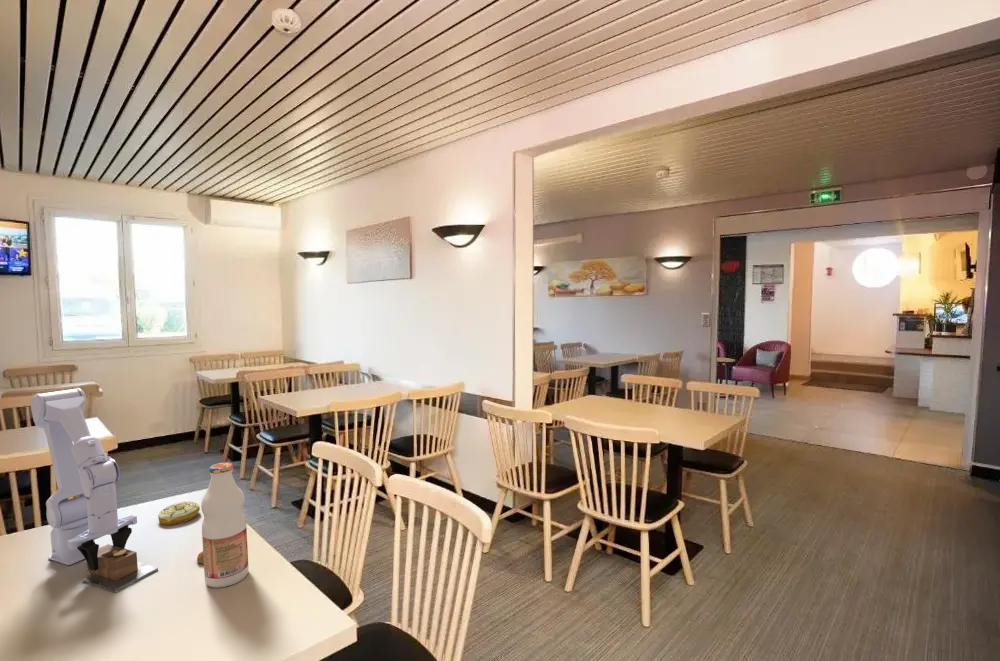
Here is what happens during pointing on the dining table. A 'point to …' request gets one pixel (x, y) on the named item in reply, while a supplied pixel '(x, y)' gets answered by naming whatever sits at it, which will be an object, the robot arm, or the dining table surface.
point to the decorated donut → (178, 513)
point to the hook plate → (123, 582)
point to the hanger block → (114, 563)
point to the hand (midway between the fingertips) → (106, 563)
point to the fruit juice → (224, 529)
